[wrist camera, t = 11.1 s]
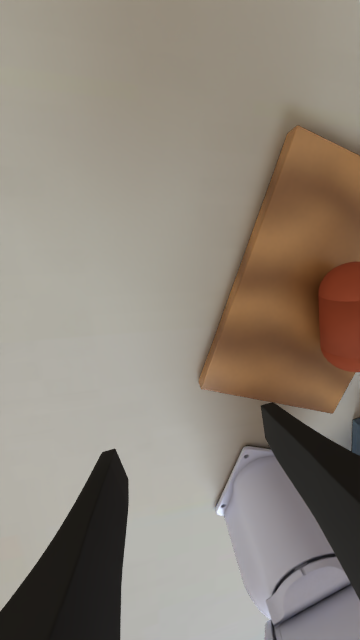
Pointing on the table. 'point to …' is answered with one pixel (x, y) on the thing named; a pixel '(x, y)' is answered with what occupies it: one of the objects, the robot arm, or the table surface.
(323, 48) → the table surface
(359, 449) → the low basket
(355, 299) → the sweet potato
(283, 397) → the oak board
